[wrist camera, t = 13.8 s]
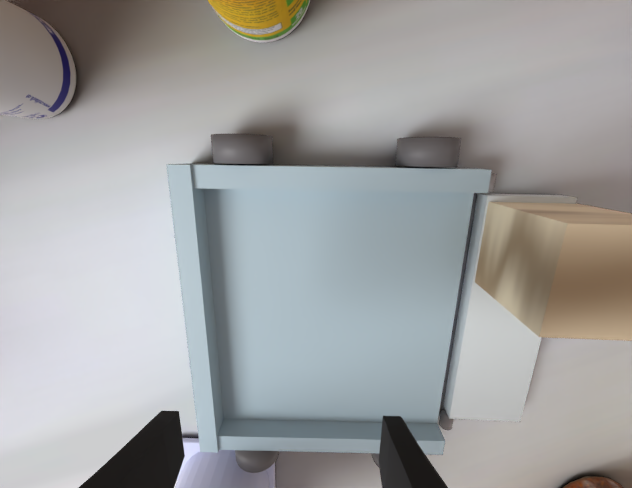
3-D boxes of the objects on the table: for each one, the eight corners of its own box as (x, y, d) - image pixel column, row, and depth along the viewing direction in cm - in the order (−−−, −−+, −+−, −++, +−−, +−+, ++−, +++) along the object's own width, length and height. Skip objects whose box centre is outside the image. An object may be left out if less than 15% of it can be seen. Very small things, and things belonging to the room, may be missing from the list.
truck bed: (444, 436, 24) (463, 477, 21) (216, 431, 24) (201, 471, 21) (494, 142, 18) (531, 138, 14) (188, 137, 18) (160, 132, 15)
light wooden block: (557, 284, 18) (660, 341, 13) (474, 281, 19) (539, 337, 13) (578, 203, 17) (703, 226, 11) (488, 201, 17) (567, 223, 12)
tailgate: (441, 402, 23) (508, 405, 23) (449, 418, 22) (520, 422, 21) (475, 192, 19) (557, 194, 18) (487, 195, 17) (577, 197, 17)
